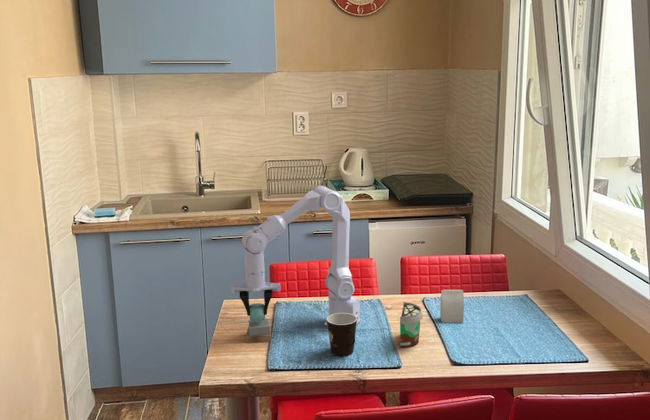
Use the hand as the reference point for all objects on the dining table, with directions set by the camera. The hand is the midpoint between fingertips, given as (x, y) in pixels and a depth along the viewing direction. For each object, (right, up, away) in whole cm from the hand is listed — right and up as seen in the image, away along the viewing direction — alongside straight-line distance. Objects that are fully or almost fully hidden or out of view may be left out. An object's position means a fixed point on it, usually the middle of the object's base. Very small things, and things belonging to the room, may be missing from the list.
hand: (257, 314), depth 194 cm
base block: (0, -8, +2) cm, 8 cm away
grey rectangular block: (+61, -4, +11) cm, 62 cm away
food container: (+46, -8, -4) cm, 47 cm away
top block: (+1, -5, +1) cm, 5 cm away
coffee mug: (+25, -10, -10) cm, 29 cm away
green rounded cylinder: (0, -1, 0) cm, 1 cm away
